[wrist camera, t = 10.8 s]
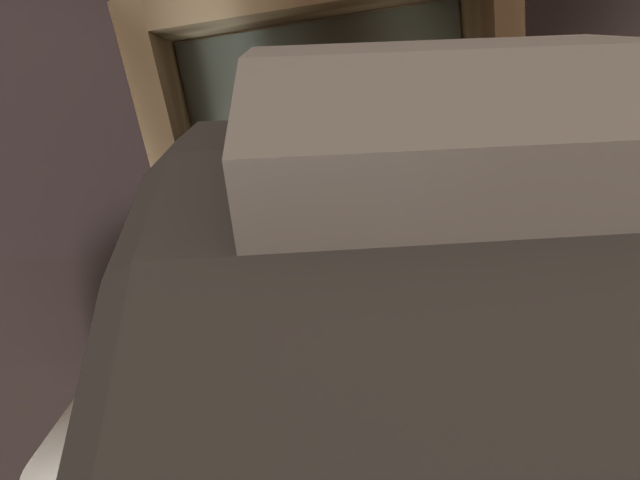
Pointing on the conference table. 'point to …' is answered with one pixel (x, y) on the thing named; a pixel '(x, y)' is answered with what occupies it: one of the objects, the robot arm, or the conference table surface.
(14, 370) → the conference table surface
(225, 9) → the tray
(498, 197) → the alarm clock
